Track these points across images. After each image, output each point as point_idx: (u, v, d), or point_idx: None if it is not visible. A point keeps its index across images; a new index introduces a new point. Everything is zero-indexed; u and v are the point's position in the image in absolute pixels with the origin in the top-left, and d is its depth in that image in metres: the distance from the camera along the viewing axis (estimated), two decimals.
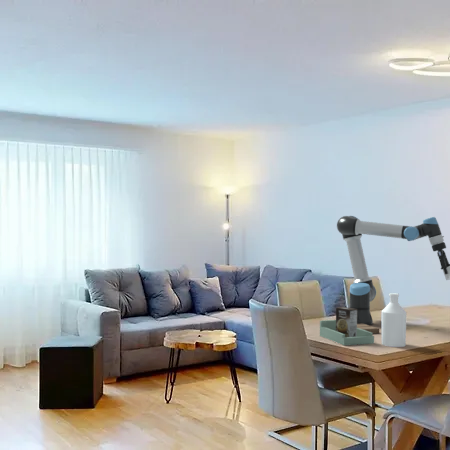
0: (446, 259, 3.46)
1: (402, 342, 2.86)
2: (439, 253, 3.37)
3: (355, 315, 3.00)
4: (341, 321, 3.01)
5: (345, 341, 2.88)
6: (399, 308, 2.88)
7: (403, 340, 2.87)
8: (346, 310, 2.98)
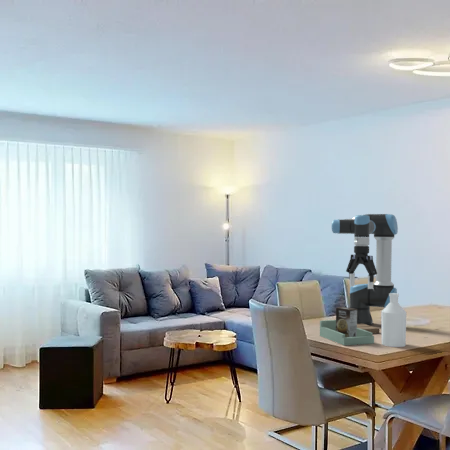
0: (365, 266, 2.96)
1: (402, 342, 2.86)
2: None
3: (355, 315, 3.00)
4: (341, 321, 3.01)
5: (345, 341, 2.88)
6: (399, 308, 2.88)
7: (403, 340, 2.87)
8: (346, 310, 2.98)
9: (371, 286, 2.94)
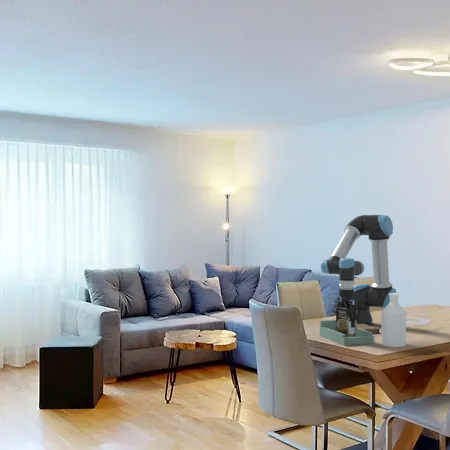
0: None
1: (402, 342, 2.86)
2: None
3: None
4: (341, 321, 3.01)
5: (345, 341, 2.88)
6: (399, 308, 2.88)
7: (403, 340, 2.87)
8: (346, 310, 2.98)
9: (352, 331, 2.97)
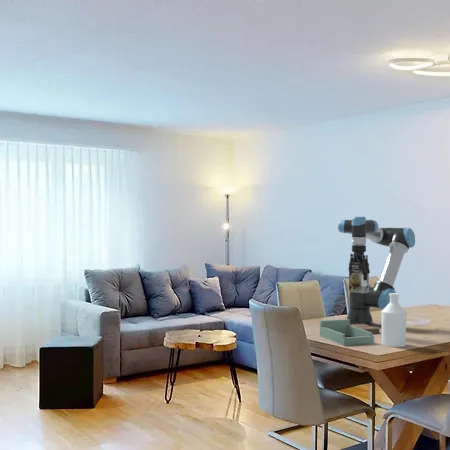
0: None
1: (402, 342, 2.86)
2: None
3: None
4: (354, 275, 3.23)
5: (345, 341, 2.88)
6: (399, 308, 2.88)
7: (403, 340, 2.87)
8: (359, 264, 3.20)
9: (365, 284, 3.19)
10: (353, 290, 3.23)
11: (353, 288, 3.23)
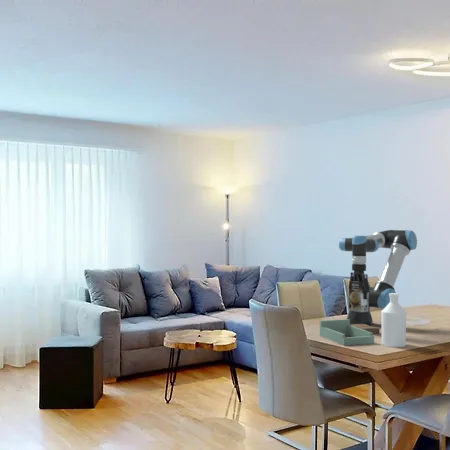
0: None
1: (402, 342, 2.86)
2: None
3: None
4: (354, 294, 3.23)
5: (345, 341, 2.88)
6: (399, 308, 2.88)
7: (403, 340, 2.87)
8: (359, 283, 3.21)
9: (365, 303, 3.20)
10: (353, 309, 3.24)
11: (352, 306, 3.24)
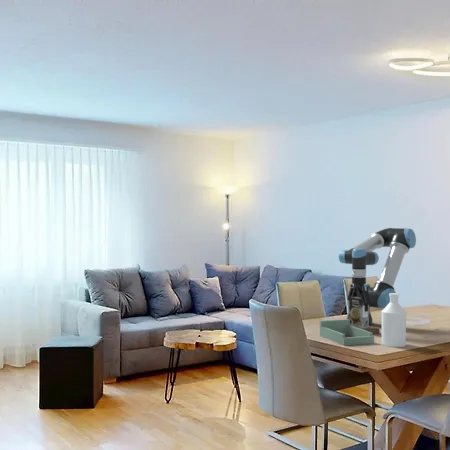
0: (360, 296, 3.21)
1: (402, 342, 2.86)
2: None
3: None
4: (354, 310, 3.23)
5: (345, 341, 2.88)
6: (399, 308, 2.88)
7: (403, 340, 2.87)
8: (359, 299, 3.21)
9: (366, 315, 3.19)
10: (353, 325, 3.24)
11: (353, 322, 3.24)
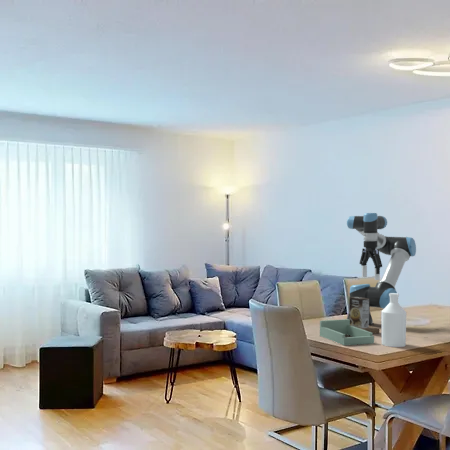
0: (372, 259, 3.26)
1: (402, 342, 2.86)
2: None
3: (367, 304, 3.22)
4: (354, 310, 3.23)
5: (345, 341, 2.88)
6: (399, 308, 2.88)
7: (403, 340, 2.87)
8: (359, 299, 3.21)
9: (378, 277, 3.24)
10: (353, 325, 3.24)
11: (353, 322, 3.24)
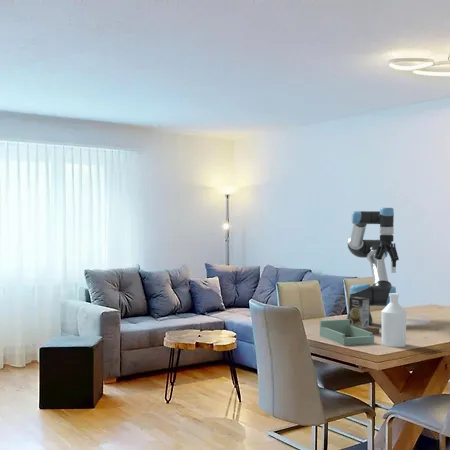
0: None
1: (402, 342, 2.86)
2: None
3: (367, 304, 3.22)
4: (354, 310, 3.23)
5: (345, 341, 2.88)
6: (399, 308, 2.88)
7: (403, 340, 2.87)
8: (359, 299, 3.21)
9: (394, 270, 3.32)
10: (353, 325, 3.24)
11: (353, 322, 3.24)
